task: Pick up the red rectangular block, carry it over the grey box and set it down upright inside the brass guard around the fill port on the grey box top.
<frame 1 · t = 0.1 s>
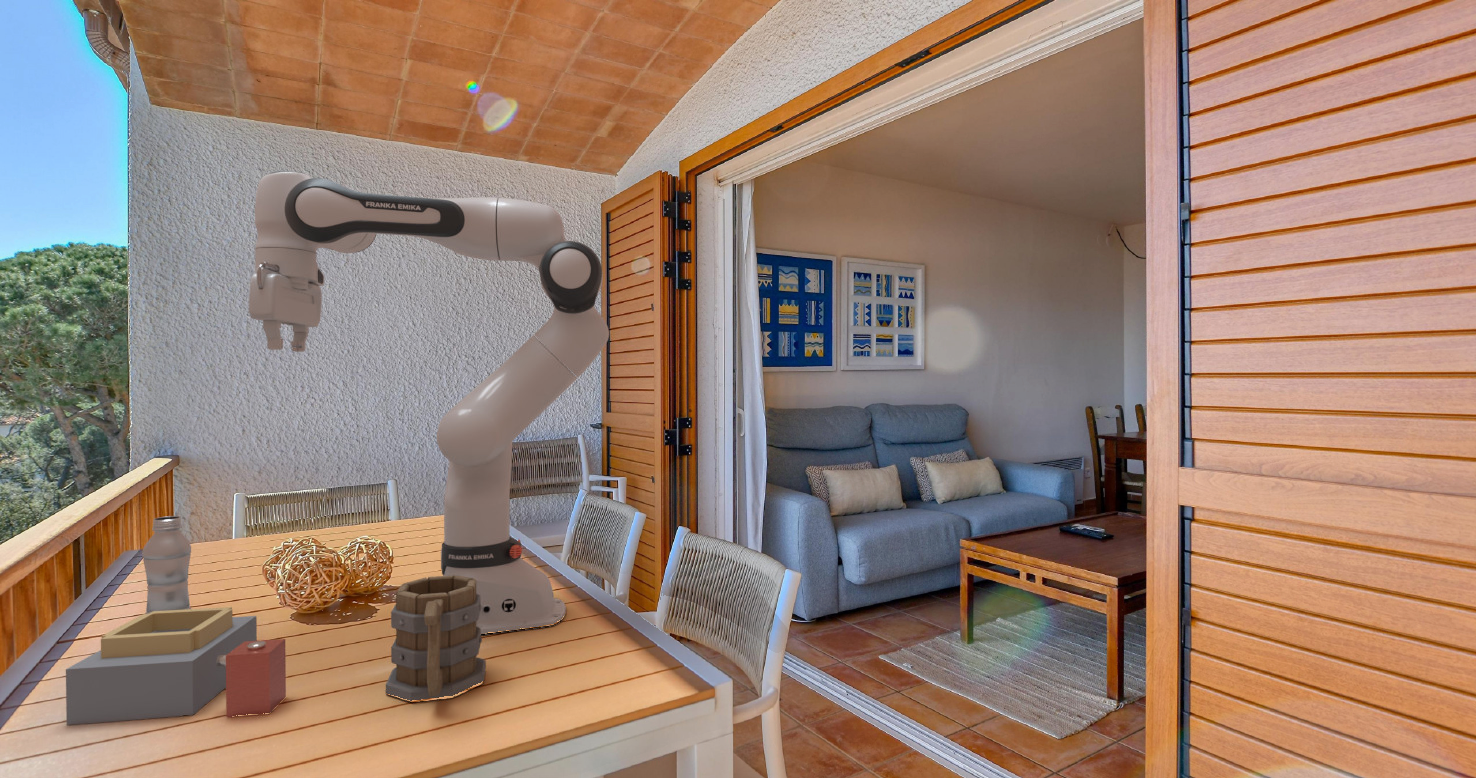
hand: (287, 350, 124), 48 cm above the table, tool pointing down, fingers open, 8 cm apart
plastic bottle: (168, 638, 121), on the table
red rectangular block: (257, 707, 96), on the table
grey box: (171, 689, 101), on the table
tankard: (434, 694, 100), on the table
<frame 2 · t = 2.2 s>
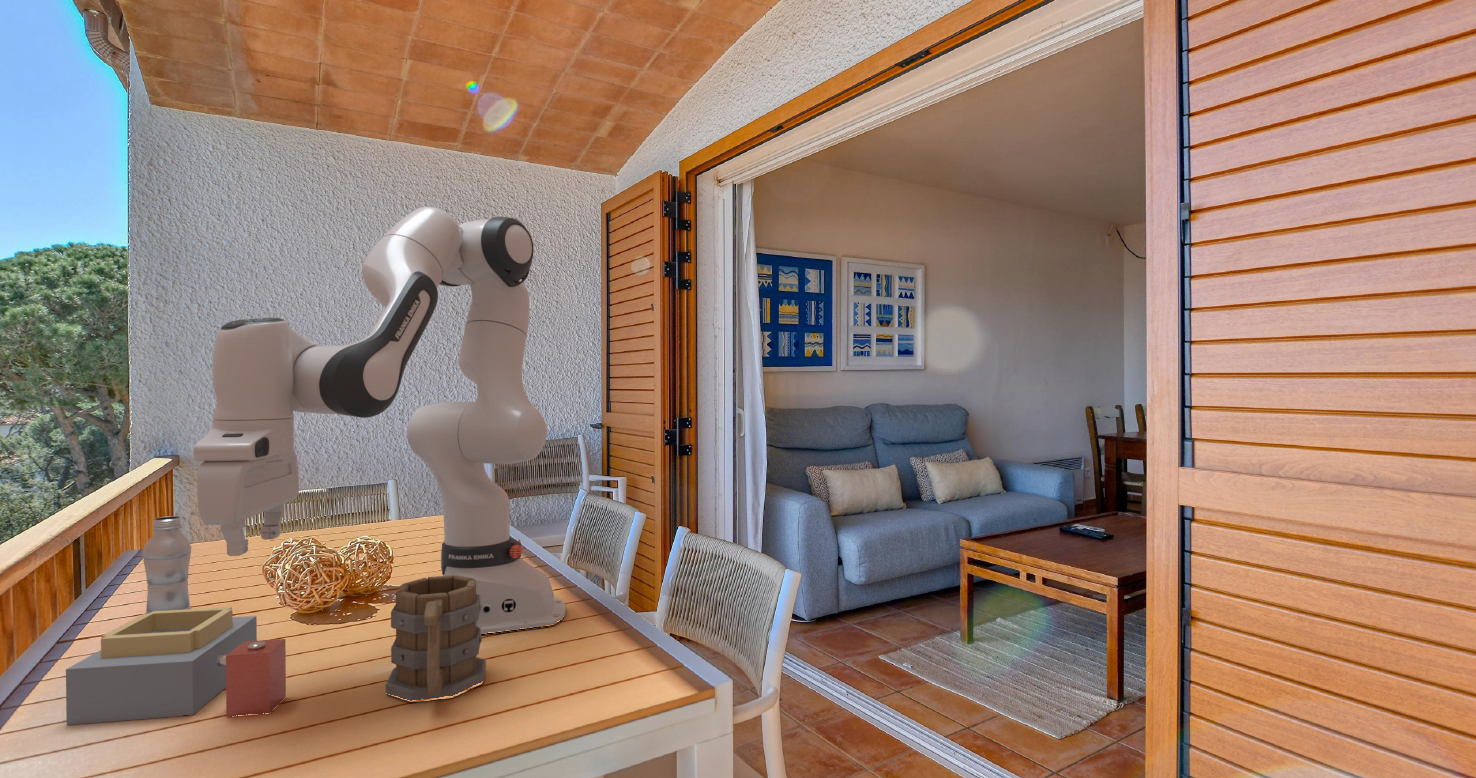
hand: (254, 546, 95), 21 cm above the table, tool pointing down, fingers open, 8 cm apart
nothing on the table moved.
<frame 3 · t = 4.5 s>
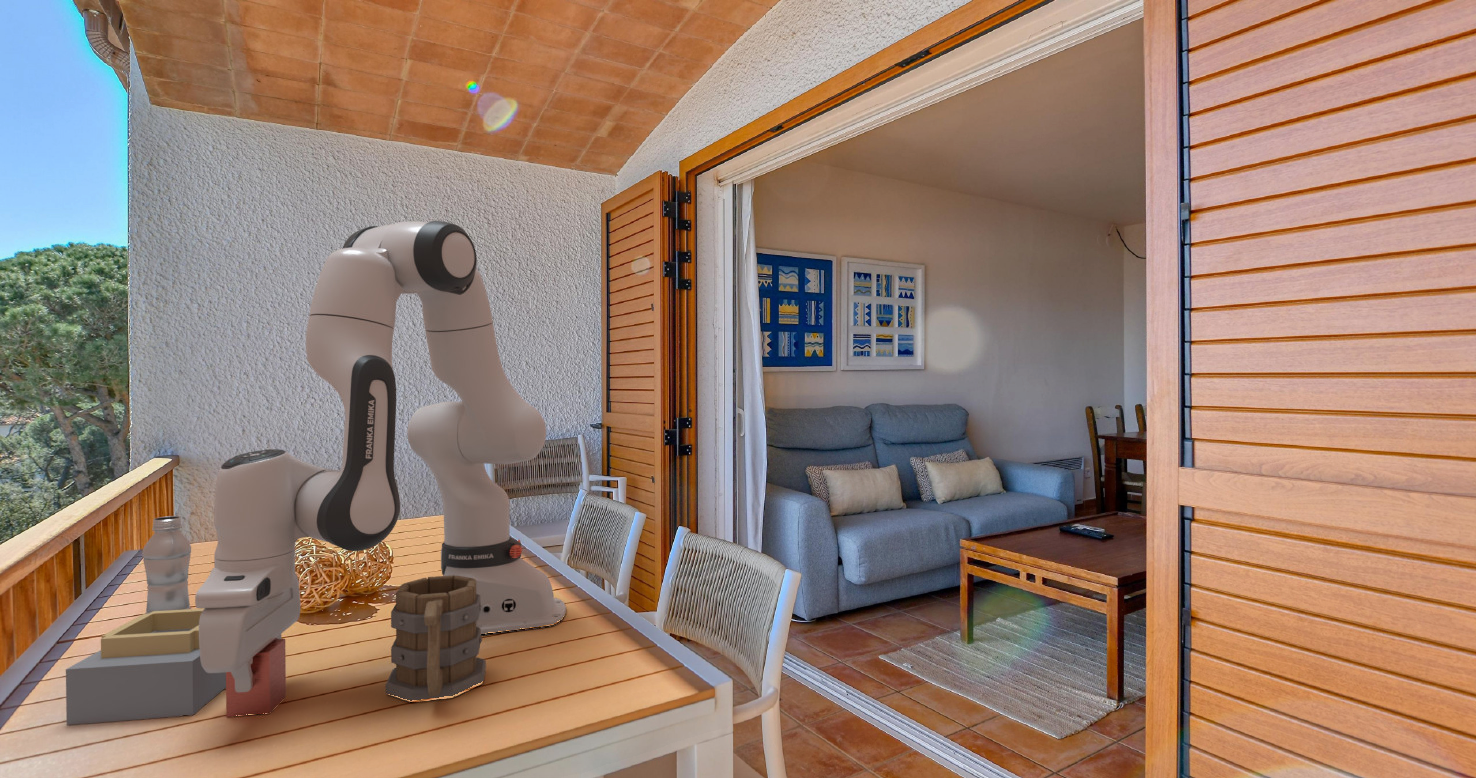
hand: (256, 679, 96), 4 cm above the table, tool pointing down, fingers closed on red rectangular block, 5 cm apart
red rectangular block: (257, 706, 96), on the table, touching gripper
everything else where it was.
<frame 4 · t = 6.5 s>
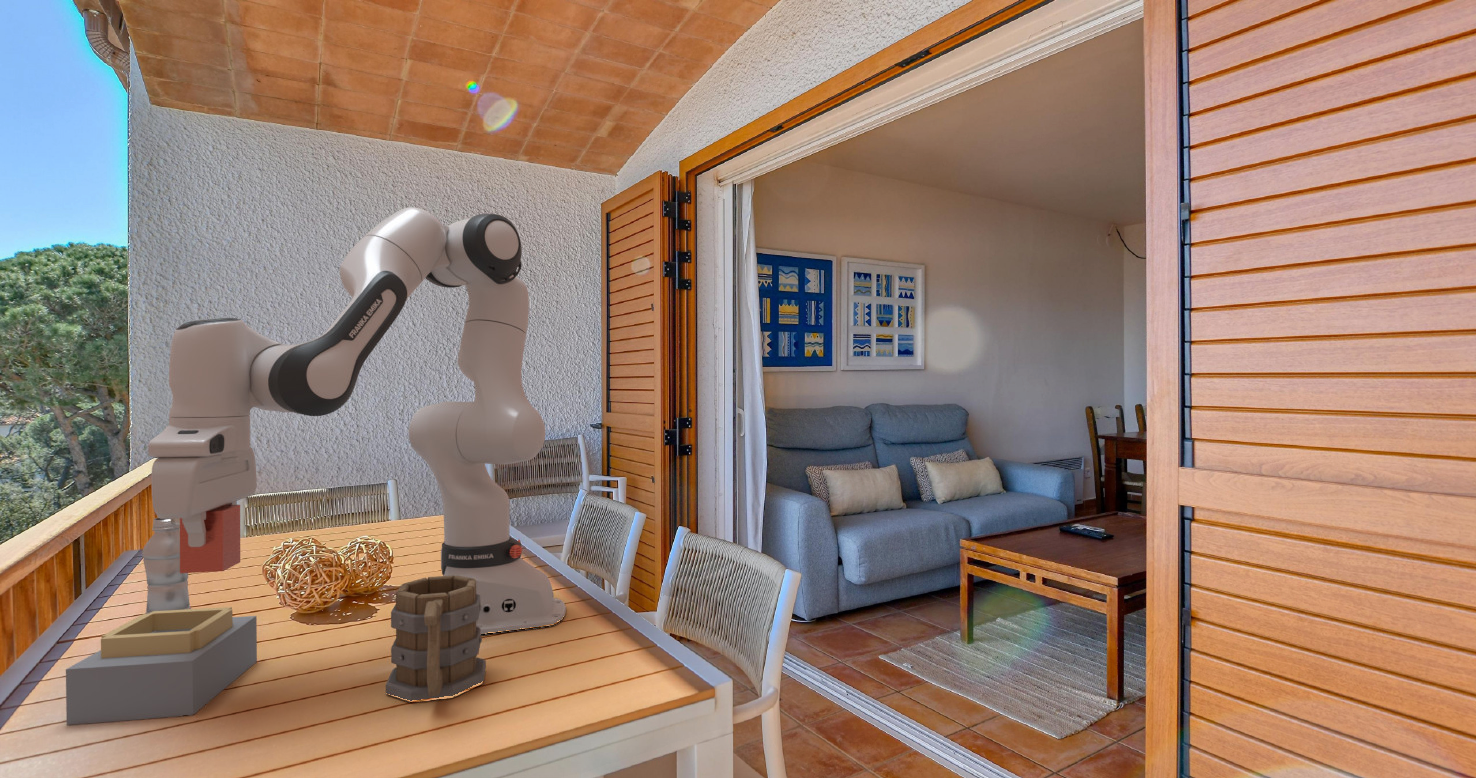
hand: (210, 540, 98), 21 cm above the table, tool pointing down, fingers closed on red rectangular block, 5 cm apart
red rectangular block: (211, 567, 98), point 18 cm above the table, touching gripper
everything else where it was.
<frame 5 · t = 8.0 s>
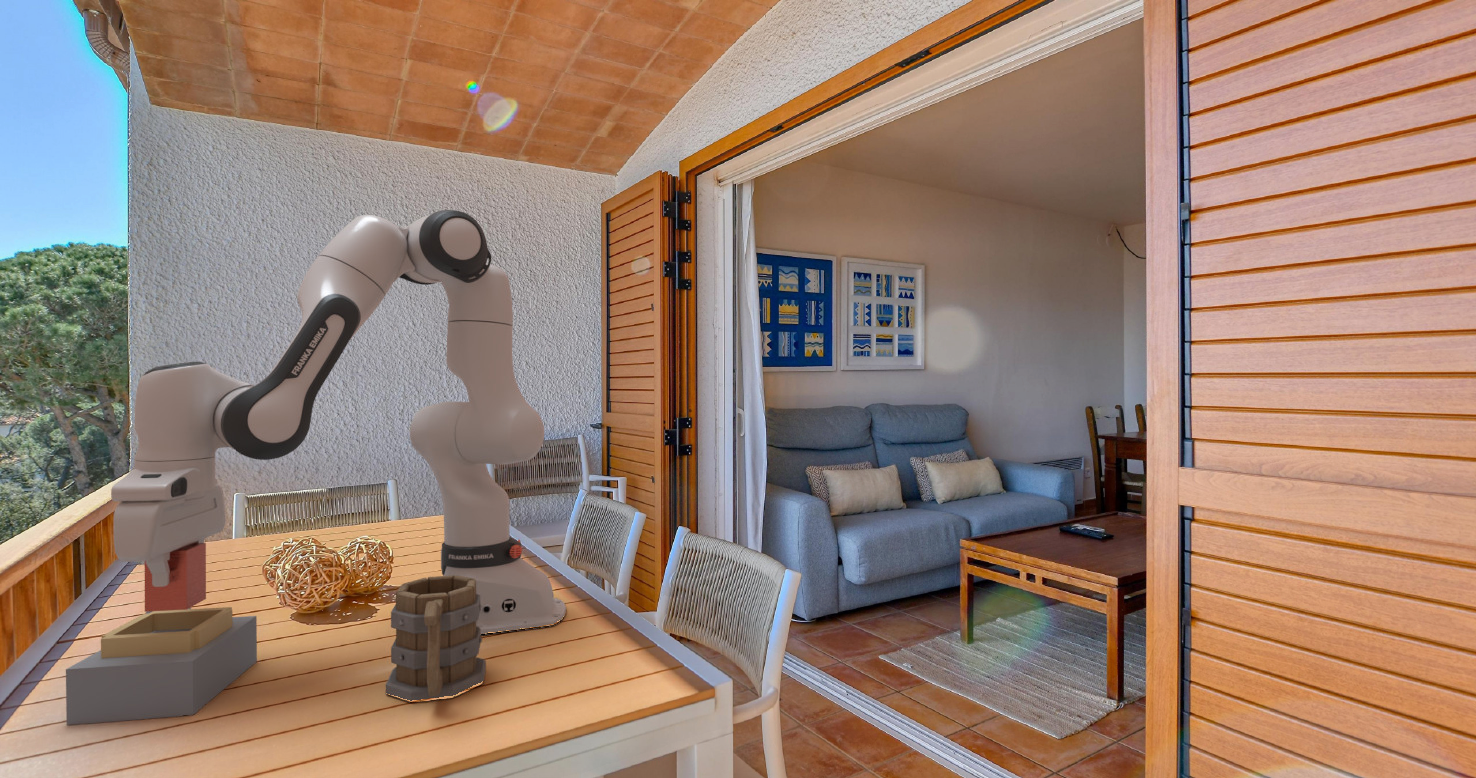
hand: (176, 578, 101), 15 cm above the table, tool pointing down, fingers closed on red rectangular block, 5 cm apart
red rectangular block: (176, 604, 101), point 12 cm above the table, touching gripper
everything else where it was.
when the fingers open (12 cm above the table, at t = 9.0 s): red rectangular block drops 1 cm, resting on grey box.
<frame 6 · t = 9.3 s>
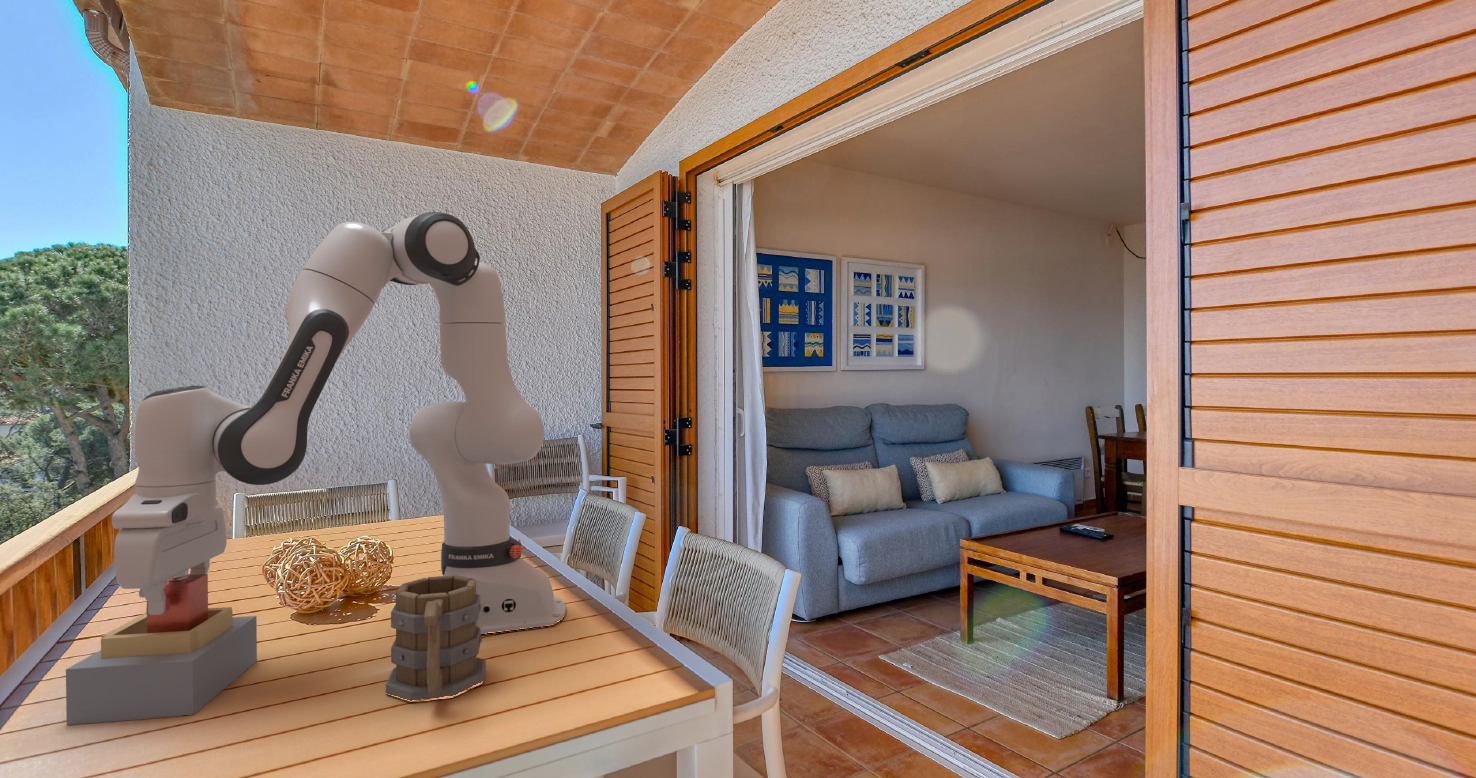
hand: (178, 602, 101), 12 cm above the table, tool pointing down, fingers open, 8 cm apart
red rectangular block: (178, 636, 101), point 7 cm above the table, touching grey box
everything else where it was.
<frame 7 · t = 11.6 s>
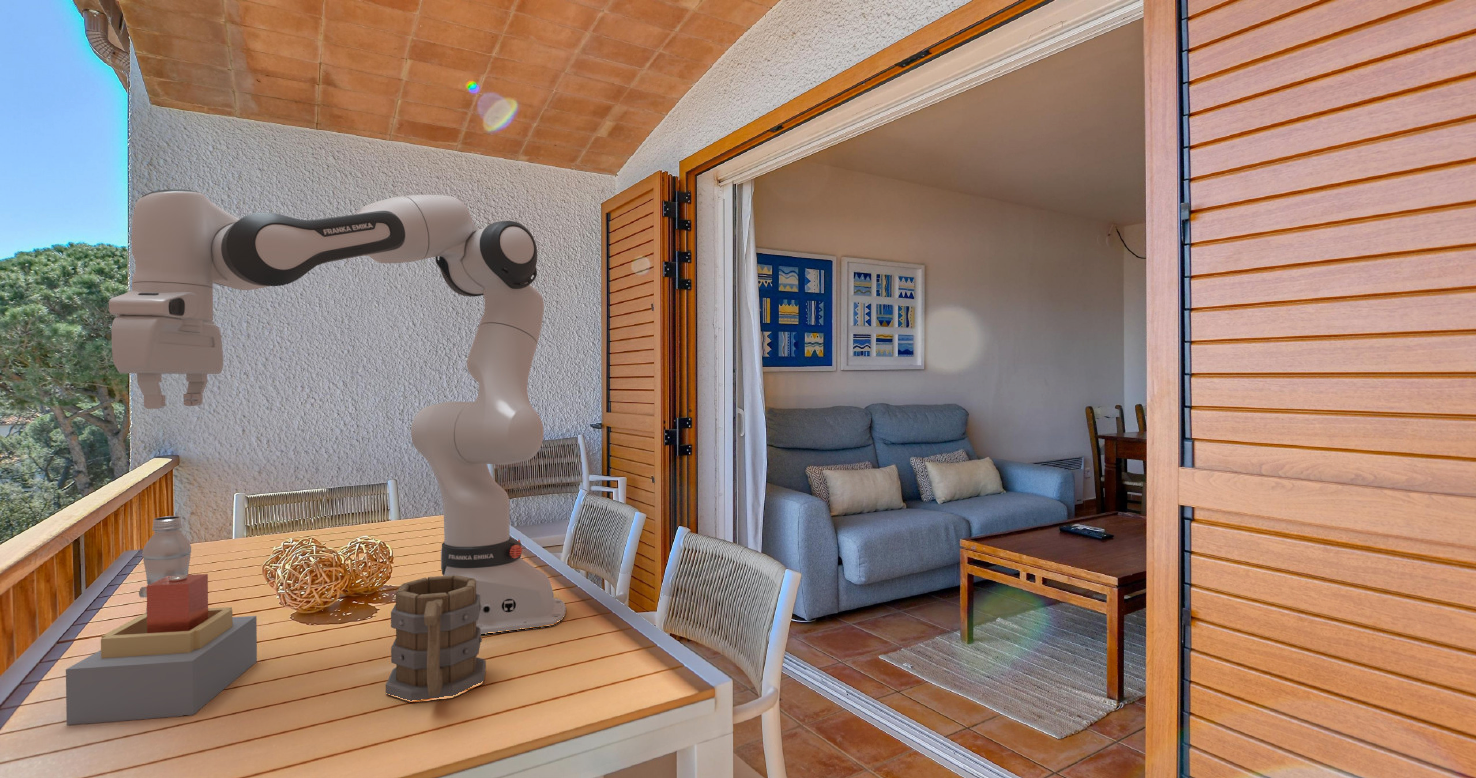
hand: (174, 407, 101), 39 cm above the table, tool pointing down, fingers open, 8 cm apart
nothing on the table moved.
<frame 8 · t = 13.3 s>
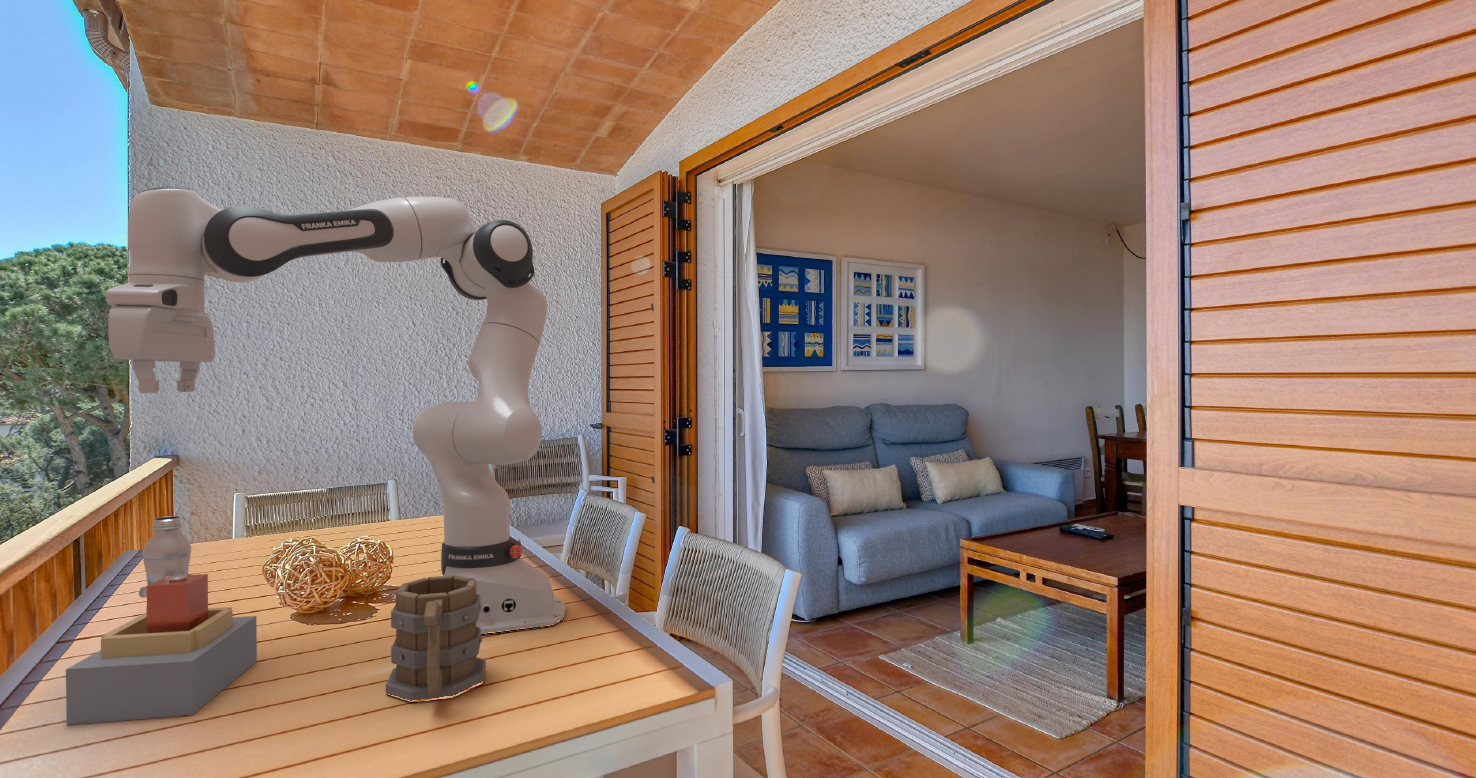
hand: (168, 392, 107), 41 cm above the table, tool pointing down, fingers open, 8 cm apart
nothing on the table moved.
at the end: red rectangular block inside the target area on the grey box (0.9 cm from its centre), point 7.3 cm above the grey box's base; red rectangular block tilted 0°; the gripper is holding nothing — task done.
